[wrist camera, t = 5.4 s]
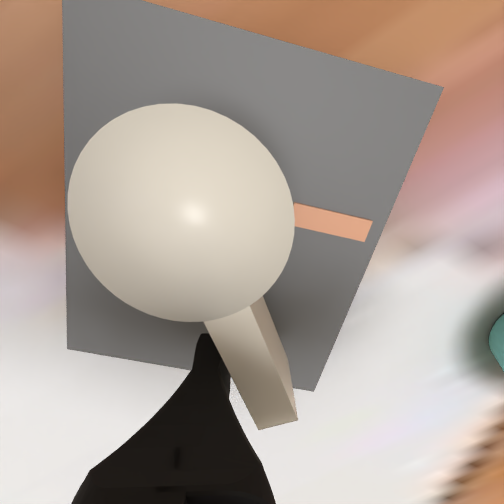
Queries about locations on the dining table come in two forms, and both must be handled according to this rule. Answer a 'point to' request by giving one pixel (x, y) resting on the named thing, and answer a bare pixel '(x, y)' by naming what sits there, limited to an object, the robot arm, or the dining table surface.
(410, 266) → the dining table surface
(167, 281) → the cream ball joystick
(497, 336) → the cupcake
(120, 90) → the post board
